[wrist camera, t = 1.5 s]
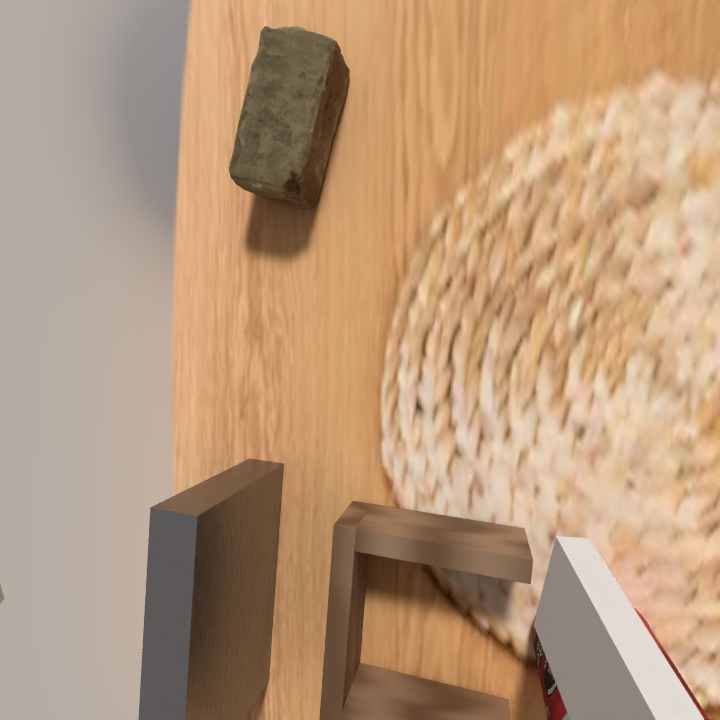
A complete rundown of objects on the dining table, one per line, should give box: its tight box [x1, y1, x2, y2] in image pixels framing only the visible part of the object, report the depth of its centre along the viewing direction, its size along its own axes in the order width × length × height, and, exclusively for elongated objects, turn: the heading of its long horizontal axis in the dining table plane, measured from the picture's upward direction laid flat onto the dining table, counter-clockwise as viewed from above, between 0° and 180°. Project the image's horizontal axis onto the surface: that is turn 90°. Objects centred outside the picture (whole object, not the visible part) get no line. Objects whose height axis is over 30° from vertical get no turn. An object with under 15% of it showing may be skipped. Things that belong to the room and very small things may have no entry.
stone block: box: [229, 26, 349, 208], centre depth 34 cm, size 6×12×5 cm, turn 166°
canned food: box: [533, 608, 708, 720], centre depth 27 cm, size 8×8×11 cm
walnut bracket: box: [320, 501, 533, 720], centre depth 32 cm, size 12×14×5 cm
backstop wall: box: [139, 459, 284, 720], centre depth 32 cm, size 3×18×12 cm, turn 176°
